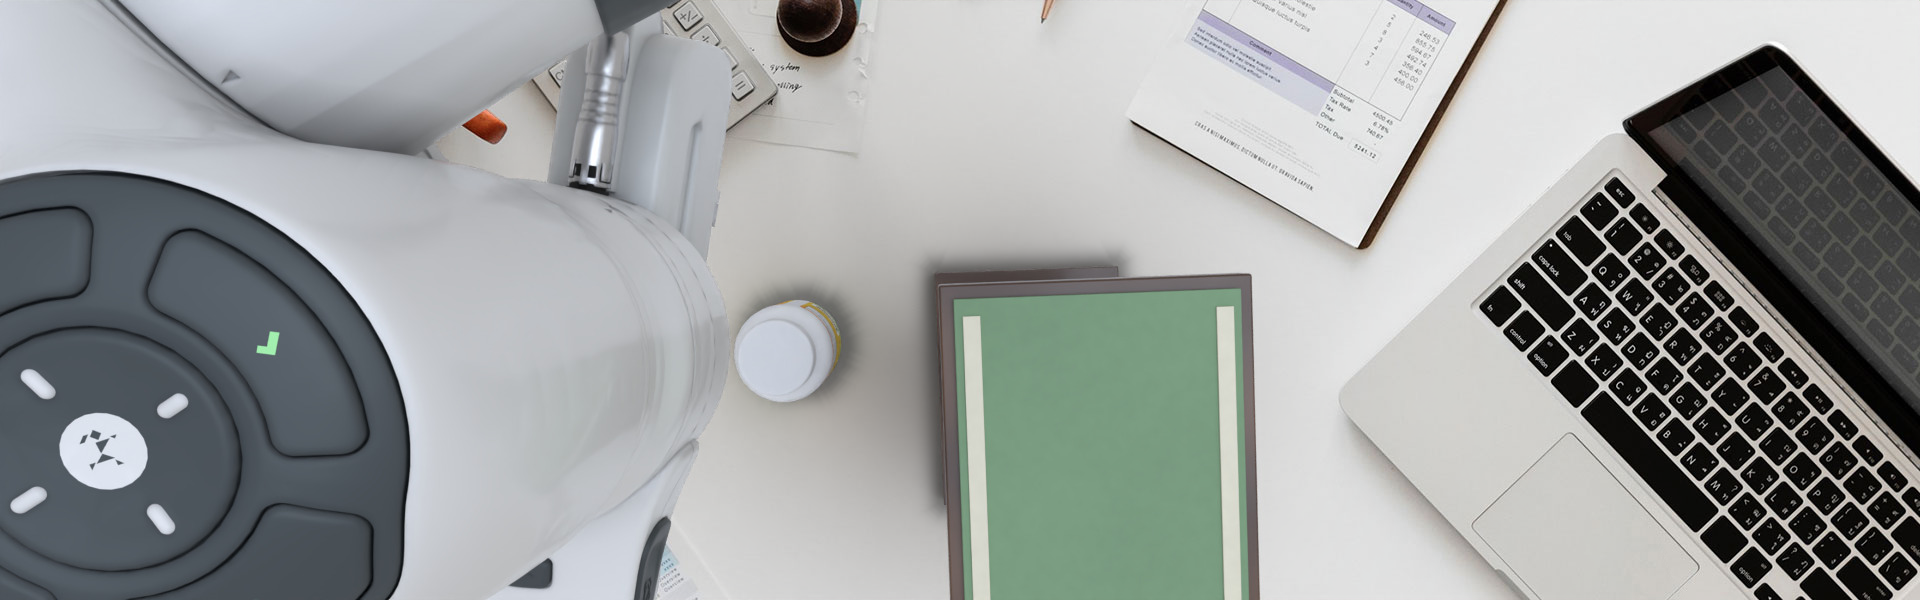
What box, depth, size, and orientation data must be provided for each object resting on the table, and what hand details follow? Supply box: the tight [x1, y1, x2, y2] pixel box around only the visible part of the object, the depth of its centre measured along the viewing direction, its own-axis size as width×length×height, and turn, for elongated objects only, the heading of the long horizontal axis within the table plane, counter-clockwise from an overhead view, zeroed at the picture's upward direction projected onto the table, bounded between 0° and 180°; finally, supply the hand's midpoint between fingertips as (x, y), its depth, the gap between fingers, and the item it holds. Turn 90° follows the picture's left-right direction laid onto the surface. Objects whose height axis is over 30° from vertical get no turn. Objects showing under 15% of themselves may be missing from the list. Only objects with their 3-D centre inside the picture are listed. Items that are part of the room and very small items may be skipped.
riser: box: [934, 265, 1261, 600], centre depth 51 cm, size 14×11×28 cm
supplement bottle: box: [733, 299, 842, 403], centre depth 60 cm, size 5×5×10 cm
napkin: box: [953, 288, 1249, 600], centre depth 37 cm, size 13×10×1 cm
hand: (680, 321), depth 43 cm, fingers open, 8 cm apart
